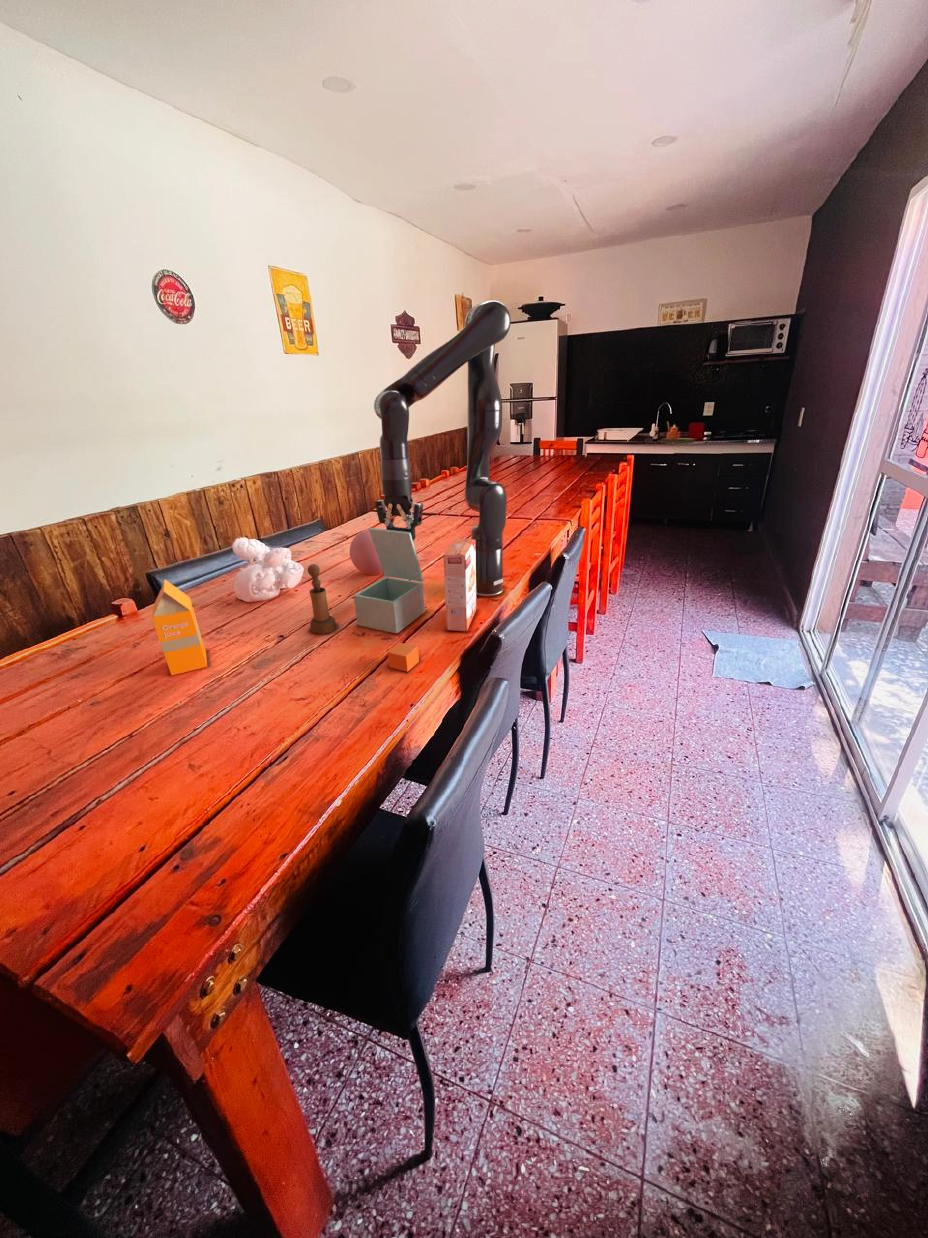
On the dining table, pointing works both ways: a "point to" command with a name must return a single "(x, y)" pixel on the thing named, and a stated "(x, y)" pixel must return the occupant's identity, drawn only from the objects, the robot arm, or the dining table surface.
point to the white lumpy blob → (264, 570)
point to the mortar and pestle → (319, 605)
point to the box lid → (397, 553)
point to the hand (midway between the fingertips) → (401, 539)
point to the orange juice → (178, 630)
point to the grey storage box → (390, 604)
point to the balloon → (365, 554)
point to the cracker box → (460, 584)
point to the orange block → (403, 657)
